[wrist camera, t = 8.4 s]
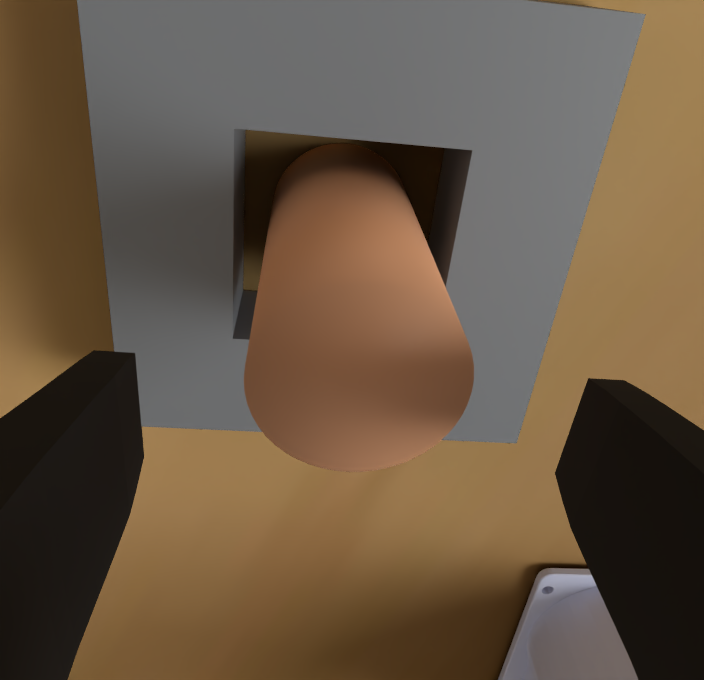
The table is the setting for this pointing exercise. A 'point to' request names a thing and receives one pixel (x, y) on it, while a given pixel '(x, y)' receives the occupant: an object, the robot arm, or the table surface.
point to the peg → (352, 320)
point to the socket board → (348, 123)
